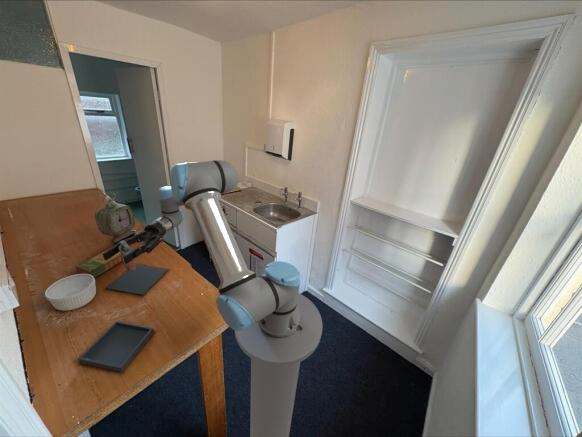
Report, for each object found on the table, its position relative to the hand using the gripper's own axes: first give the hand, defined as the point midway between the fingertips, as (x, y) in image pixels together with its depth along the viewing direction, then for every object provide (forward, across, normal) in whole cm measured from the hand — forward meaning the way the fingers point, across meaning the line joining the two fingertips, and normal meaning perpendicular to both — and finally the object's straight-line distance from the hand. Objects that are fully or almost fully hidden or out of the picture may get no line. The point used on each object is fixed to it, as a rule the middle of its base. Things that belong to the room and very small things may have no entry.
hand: (114, 258), depth 80 cm
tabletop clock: (-37, +36, -18) cm, 55 cm away
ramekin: (+5, +16, -18) cm, 25 cm away
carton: (-14, +23, -18) cm, 33 cm away
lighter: (-5, 0, -7) cm, 8 cm away
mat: (-10, +3, -18) cm, 21 cm away
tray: (+18, -13, -18) cm, 28 cm away
